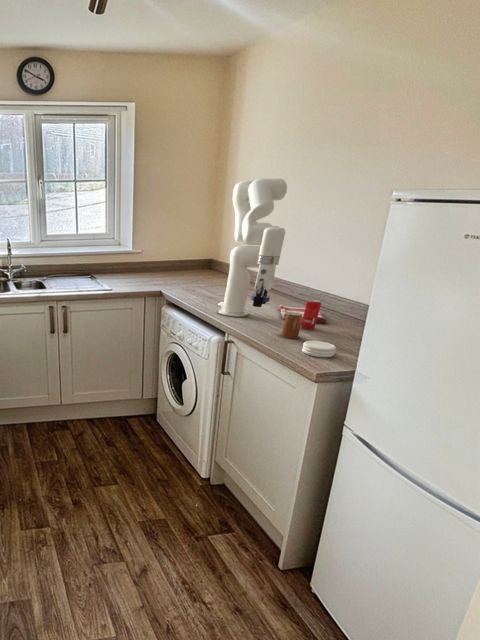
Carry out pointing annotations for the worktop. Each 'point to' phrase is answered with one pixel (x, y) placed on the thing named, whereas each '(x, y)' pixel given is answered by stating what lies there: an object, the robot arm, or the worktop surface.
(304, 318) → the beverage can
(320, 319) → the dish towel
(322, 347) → the coaster
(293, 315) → the jam jar
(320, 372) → the worktop surface
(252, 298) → the jam lid
